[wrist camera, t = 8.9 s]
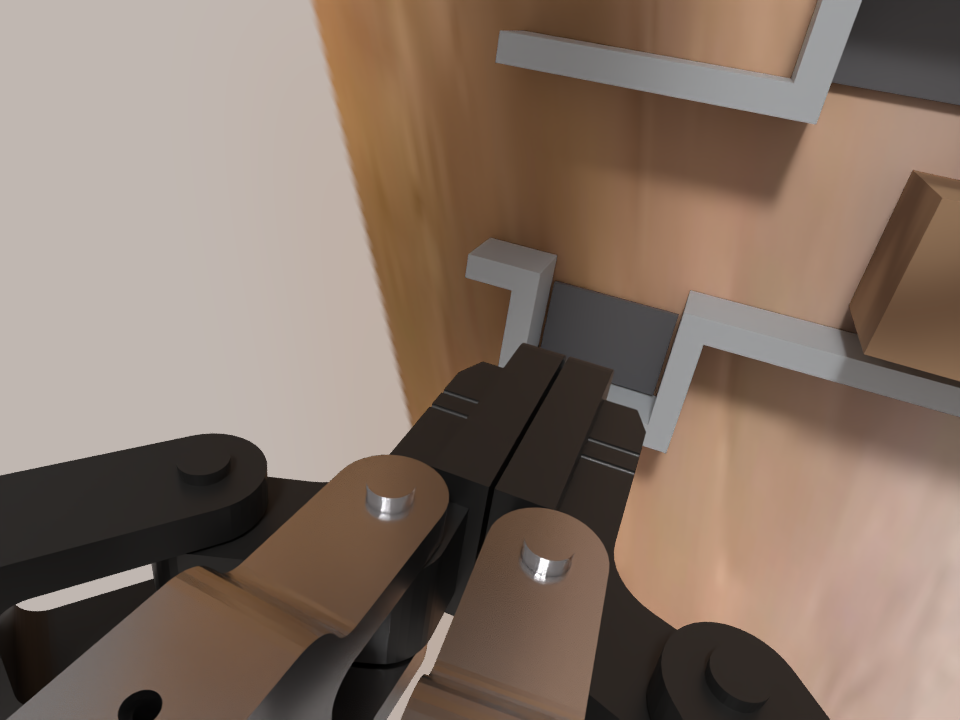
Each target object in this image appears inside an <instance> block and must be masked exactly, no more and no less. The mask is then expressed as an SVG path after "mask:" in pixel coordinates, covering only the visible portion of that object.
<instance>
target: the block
mask: <svg viewBox="0 0 960 720" xmlns="http://www.w3.org/2000/svg"><path fill="white" fill-rule="evenodd" d="M849 308H850V311H851V314H852V318H853V321H854V324H855V327H856V331H857V334H858V337H859V340H860V344H861V347H862V350H863V353H864V354H865V355H868V356H872V357H876V358H879V359H883V360H886V361H890V362H893V363H897V364H900V365H904V366H907V367H911V368H914V369H918V370H921V371H925V372H928V373H932V374H935V375H939V376H942V377H946V378H950V379H953V380H957V381H960V180H956V179H951V178H947V177H942V176H938V175H933V174H929V173H924V172H919V171H915V170H913V171H912V173H911V175H910V177H909V179H908V182H907V184H906V186H905V188H904V190H903V192H902V194H901V196H900V199H899V201H898V203H897V205H896V207H895V209H894V211H893V213H892V215H891V218H890V220H889V222H888V224H887V226H886V228H885V230H884V232H883V235H882V237H881V239H880V241H879V243H878V245H877V247H876V249H875V252H874V254H873V256H872V258H871V260H870V262H869V264H868V266H867V268H866V271H865V273H864V275H863V277H862V279H861V281H860V283H859V285H858V288H857V290H856V292H855V294H854V296H853V298H852V300H851V302H850V305H849Z"/></svg>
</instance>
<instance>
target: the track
mask: <svg viewBox="0 0 960 720" xmlns="http://www.w3.org/2000/svg"><path fill="white" fill-rule="evenodd" d="M495 63H500V64H505V65H511V66H516V67H521V68H526V69H531V70H537V71H542V72H547V73H552V74H557V75H562V76H568V77H573V78H578V79H583V80H588V81H593V82H599V83H604V84H609V85H614V86H619V87H624V88H630V89H635V90H640V91H645V92H650V93H656V94H661V95H666V96H671V97H676V98H681V99H687V100H692V101H697V102H702V103H707V104H712V105H718V106H723V107H728V108H733V109H738V110H744V111H749V112H754V113H759V114H764V115H769V116H775V117H780V118H785V119H790V120H795V121H800V122H806V123H811V124H816V123H817V120H818V118H819V115H820V112H821V110H822V107H823V104H824V101H825V99H826V96H827V93H828V91H829V88H830V85H831V83H838V84H843V85H849V86H854V87H860V88H866V89H871V90H877V91H883V92H888V93H894V94H900V95H905V96H911V97H916V98H922V99H928V100H933V101H939V102H945V103H950V104H956V105H960V0H818V1H817V4H816V7H815V10H814V13H813V16H812V19H811V22H810V25H809V27H808V30H807V33H806V36H805V39H804V42H803V45H802V48H801V51H800V54H799V57H798V60H797V62H796V65H795V68H794V71H793V74H792V77H791V78H786V77H781V76H775V75H769V74H764V73H758V72H753V71H747V70H741V69H736V68H730V67H725V66H719V65H713V64H708V63H702V62H697V61H691V60H685V59H680V58H674V57H669V56H663V55H657V54H652V53H646V52H641V51H635V50H629V49H624V48H618V47H613V46H607V45H601V44H596V43H590V42H585V41H579V40H573V39H568V38H562V37H557V36H551V35H545V34H540V33H534V32H528V31H523V30H500V33H499V40H498V48H497V55H496V62H495ZM556 260H557V255H555V254H551V253H547V252H543V251H539V250H536V249H532V248H528V247H524V246H520V245H517V244H513V243H509V242H505V241H501V240H498V239H494V238H489V239H488V240H486V241H485V242H484V243H482V244H481V245H480V246H478V247H477V248H476V249H474V250H473V251H472V252H471V253H469V254H468V261H467V268H466V275H465V278H469V279H472V280H476V281H480V282H483V283H487V284H490V285H494V286H497V287H501V288H504V289H508V290H511V291H512V292H511V298H510V304H509V309H508V315H507V320H506V326H505V332H504V337H503V343H502V348H501V354H500V360H499V365H498V366H499V367H502V368H504V367H505V365H506V364H507V362H508V361H509V360H510V358H511V357H512V356H513V354H514V353H515V351H516V350H517V349H518V347H519V346H520V345H521V344H522V343H527V344H530V345H533V346H537V347H538V346H539V341H540V336H541V331H542V327H543V322H544V317H545V312H546V307H547V303H548V298H549V293H550V288H551V283H552V279H553V274H554V269H555V264H556ZM678 315H679V314H676V313H672V312H668V311H665V310H661V309H657V308H654V307H650V306H646V305H643V304H639V303H636V302H632V301H628V300H625V299H621V298H617V297H614V296H610V295H606V294H603V293H599V292H595V291H592V290H588V289H584V288H581V287H577V286H573V285H570V284H566V283H562V282H559V281H555V282H554V287H553V291H552V296H551V301H550V305H549V310H548V315H547V320H546V324H545V329H544V334H543V339H542V343H541V348H543V349H547V350H550V351H553V352H556V353H560V354H563V355H566V356H567V359H568V358H569V357H574V358H577V359H580V360H584V361H587V362H590V363H593V364H597V365H600V366H603V367H607V368H610V369H613V370H614V374H613V378H612V382H611V386H610V389H609V393H608V396H607V401H611V402H614V403H617V404H620V405H623V406H627V407H630V408H633V409H636V410H638V412H639V415H640V418H641V420H642V423H643V425H644V428H645V431H646V435H645V438H644V442H643V445H642V446H645V447H648V448H651V449H654V450H657V451H660V452H663V453H666V452H667V449H668V446H669V443H670V440H671V437H672V434H673V432H674V429H675V426H676V423H677V420H678V417H679V414H680V411H681V408H682V406H683V403H684V400H685V397H686V394H687V391H688V388H689V385H690V382H691V380H692V377H693V374H694V371H695V368H696V365H697V362H698V359H699V356H700V353H701V351H702V348H703V345H706V346H710V347H713V348H717V349H720V350H724V351H727V352H731V353H734V354H738V355H741V356H745V357H749V358H752V359H756V360H759V361H763V362H766V363H770V364H773V365H777V366H780V367H784V368H788V369H791V370H795V371H798V372H802V373H805V374H809V375H812V376H816V377H819V378H823V379H826V380H830V381H834V382H837V383H841V384H844V385H848V386H851V387H855V388H858V389H862V390H865V391H869V392H872V393H876V394H880V395H883V396H887V397H890V398H894V399H897V400H901V401H904V402H908V403H911V404H915V405H919V406H922V407H926V408H929V409H933V410H936V411H940V412H943V413H947V414H950V415H954V416H957V417H960V381H957V380H953V379H950V378H946V377H942V376H939V375H935V374H932V373H928V372H925V371H921V370H918V369H914V368H911V367H907V366H904V365H900V364H897V363H893V362H890V361H886V360H883V359H879V358H876V357H872V356H868V355H865V354H864V353H863V350H862V347H861V344H860V340H859V337H858V334H854V333H850V332H847V331H843V330H839V329H835V328H831V327H828V326H824V325H820V324H816V323H812V322H809V321H805V320H801V319H797V318H793V317H790V316H786V315H782V314H778V313H774V312H771V311H767V310H763V309H759V308H756V307H752V306H748V305H744V304H740V303H737V302H733V301H729V300H725V299H721V298H718V297H714V296H710V295H706V294H702V293H699V292H695V291H691V290H690V293H689V296H688V299H687V303H686V306H685V309H684V312H683V315H682V318H681V321H680V324H679V328H678V331H677V334H676V337H675V340H674V343H673V346H672V349H671V353H670V356H669V359H668V362H667V365H666V368H665V371H664V374H663V378H662V381H661V384H660V387H659V390H658V393H657V396H653V394H654V391H655V388H656V384H657V381H658V378H659V375H660V372H661V369H662V365H663V362H664V359H665V356H666V353H667V350H668V347H669V343H670V340H671V337H672V334H673V331H674V328H675V324H676V321H677V318H678Z"/></svg>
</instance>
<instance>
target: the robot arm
mask: <svg viewBox="0 0 960 720" xmlns="http://www.w3.org/2000/svg"><path fill="white" fill-rule="evenodd" d="M613 374H614V370H613V369H610V368H607V367H603V366H600V365H597V364H593V363H590V362H587V361H584V360H580V359H577V358H574V357H569V358H568V359H567V356H566V355H563V354H560V353H556V352H553V351H550V350H547V349H543V348H540V347H537V346H533V345H530V344H527V343H522V344H521V345H520V346H519V347H518V349H517V350H516V351H515V353H514V354H513V356H512V357H511V358H510V360H509V361H508V362H507V364H506V365H505V367H504V368H502V367H499V366H495V365H492V364H489V363H486V362H481V363H478V364H476V365H474V366H472V367H470V368H467V369H465V370H463V371H461V372H458V374H457V375H456V376H455V377H454V378H453V380H452V381H451V382H450V383H449V384H448V386H447V387H446V388H445V389H444V392H443V393H441V394H440V395H439V396H438V397H437V399H436V400H435V401H434V402H433V404H432V407H429V408H428V409H427V411H426V412H425V413H424V414H423V415H422V416H421V418H420V419H419V420H418V421H417V422H416V424H415V425H414V426H413V427H412V428H411V430H410V431H409V432H408V433H407V434H406V436H405V437H404V438H403V439H402V440H401V441H400V443H399V444H398V445H397V446H396V447H395V449H394V450H393V451H392V452H391V453H390V455H378V456H371V457H367V458H363V459H360V460H358V461H355V462H353V463H352V464H350V465H348V466H347V467H345V468H344V469H343V470H342V471H340V473H338V474H337V475H336V476H335V477H334V478H333V479H332V480H331V481H330V482H323V483H322V482H309V481H300V480H291V479H282V478H273V477H267V461H266V458H265V456H264V454H263V452H262V451H261V450H260V449H259V448H258V447H257V446H256V445H254V444H253V443H251V442H250V441H248V440H245V439H243V438H240V437H237V436H233V435H227V434H200V435H194V436H189V437H185V438H180V439H174V440H170V441H165V442H160V443H155V444H150V445H146V446H141V447H136V448H131V449H126V450H121V451H117V452H112V453H107V454H102V455H97V456H92V457H88V458H83V459H78V460H74V461H68V462H63V463H59V464H54V465H49V466H44V467H39V468H35V469H30V470H25V471H20V472H15V473H11V474H6V475H1V476H0V720H387V718H388V716H389V715H390V713H391V712H392V710H393V708H394V707H395V705H396V704H397V702H398V701H399V699H400V697H401V696H402V694H403V693H404V691H405V689H406V688H407V686H408V685H409V683H410V681H411V680H412V678H413V677H414V675H415V673H416V672H417V670H418V669H419V667H420V665H421V664H422V662H423V660H424V657H425V653H426V649H427V643H428V641H429V640H430V638H431V636H432V635H433V633H434V631H435V629H436V627H437V625H438V623H439V621H440V619H441V617H442V616H443V614H444V612H446V613H448V614H450V615H453V616H454V618H453V620H452V623H451V625H450V628H449V630H448V633H447V635H446V638H445V640H444V643H443V645H442V648H441V650H440V653H439V655H438V658H437V660H436V662H435V665H434V667H433V669H432V671H431V673H430V674H429V676H428V675H426V674H424V675H423V676H422V677H421V678H420V680H419V681H418V683H417V685H416V687H415V689H414V691H413V693H412V695H411V697H410V699H409V702H408V704H407V706H406V708H405V711H404V713H403V716H402V718H401V720H830V719H829V718H828V716H827V715H826V714H825V712H824V711H823V710H822V708H821V707H820V705H819V704H818V703H817V701H816V700H815V699H814V697H813V696H812V695H811V693H810V692H809V691H808V689H807V688H806V687H805V685H804V684H803V683H802V681H801V680H800V679H799V677H798V676H797V675H796V673H795V672H794V671H793V670H792V668H791V667H790V666H789V665H788V664H787V662H786V661H785V660H784V659H783V658H782V657H781V656H780V655H779V654H778V653H777V652H776V651H775V650H773V649H772V648H771V647H769V646H768V645H767V644H765V643H764V642H763V641H761V640H760V639H758V638H756V637H755V636H753V635H751V634H749V633H747V632H745V631H743V630H741V629H738V628H735V627H732V626H729V625H726V624H721V623H715V622H699V623H693V624H689V625H686V626H684V627H682V628H680V629H678V630H676V629H675V628H673V627H672V626H671V625H669V624H668V623H666V622H665V621H663V620H662V619H661V618H659V617H658V616H656V615H655V614H653V613H652V612H651V611H649V610H648V609H647V608H646V607H644V606H643V605H642V604H641V603H640V602H639V601H638V600H637V599H636V598H635V597H634V596H633V595H632V594H631V593H630V591H629V590H628V589H627V588H626V586H625V585H624V583H623V581H622V580H621V578H620V576H619V574H618V571H617V569H616V565H615V561H614V547H615V542H616V538H617V535H618V531H619V527H620V524H621V520H622V517H623V513H624V510H625V506H626V502H627V499H628V495H629V492H630V488H631V485H632V481H633V478H634V474H635V470H636V467H637V463H638V460H639V456H640V453H641V449H642V445H643V442H644V438H645V435H646V431H645V428H644V425H643V423H642V420H641V418H640V415H639V412H638V410H636V409H633V408H630V407H627V406H623V405H620V404H617V403H614V402H611V401H607V396H608V393H609V389H610V386H611V382H612V378H613ZM148 564H152V570H153V576H154V579H151V580H148V581H144V582H141V583H138V584H135V585H131V586H128V587H124V588H121V589H118V590H115V591H111V592H108V593H104V594H101V595H98V596H94V597H91V598H88V599H84V600H81V601H78V602H75V603H71V604H68V605H64V606H61V607H58V608H54V609H51V610H46V611H27V610H24V609H21V608H19V607H18V606H16V605H15V604H17V603H20V602H22V601H24V600H27V599H30V598H34V597H37V596H40V595H44V594H48V593H51V592H55V591H58V590H61V589H65V588H69V587H72V586H75V585H79V584H82V583H86V582H89V581H93V580H96V579H99V578H103V577H106V576H110V575H113V574H117V573H120V572H124V571H127V570H131V569H134V568H137V567H141V566H145V565H148Z"/></svg>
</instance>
